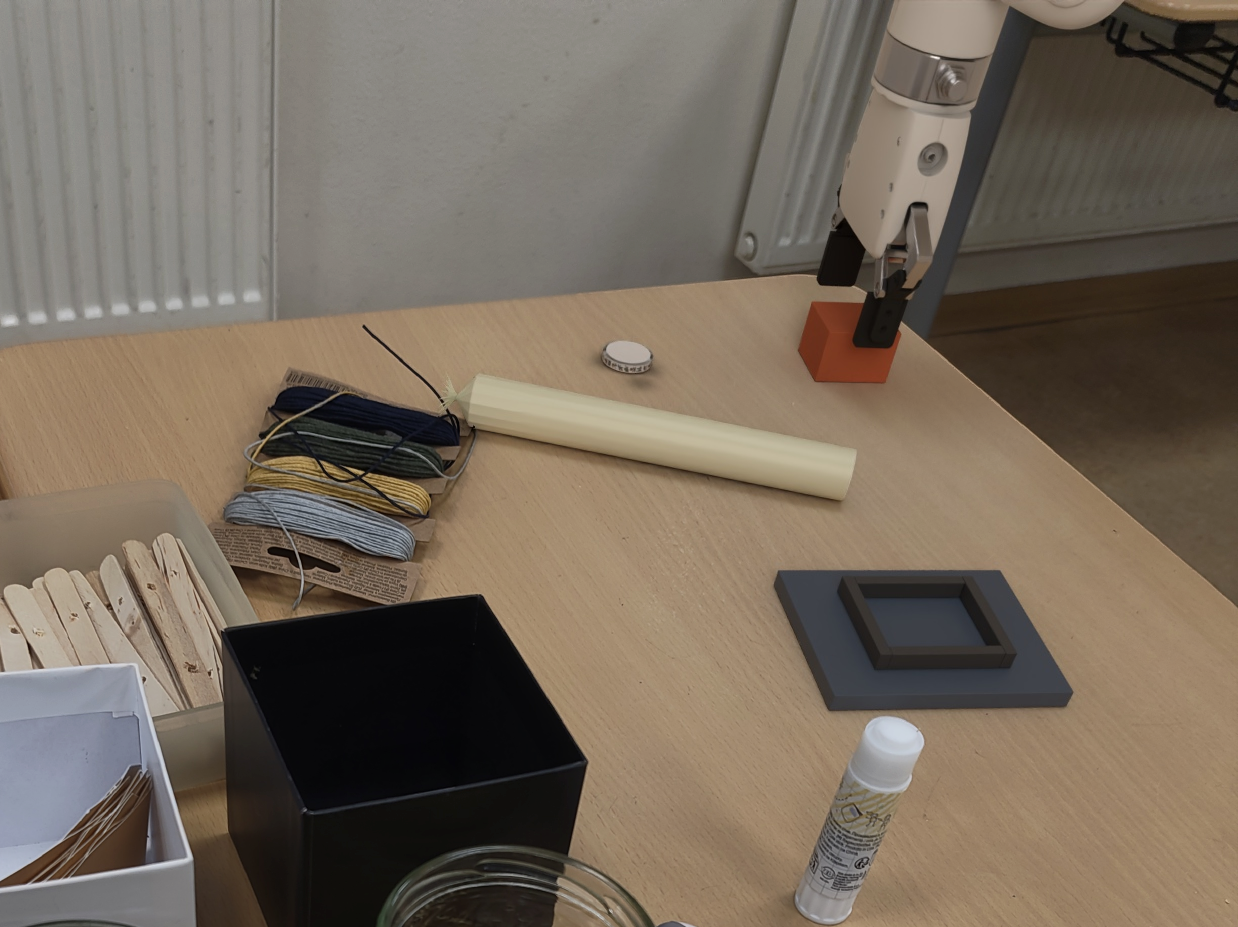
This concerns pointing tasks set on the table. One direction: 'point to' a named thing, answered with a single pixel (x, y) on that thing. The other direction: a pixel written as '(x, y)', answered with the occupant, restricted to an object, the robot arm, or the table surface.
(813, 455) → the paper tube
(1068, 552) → the table surface
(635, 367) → the white flat disc
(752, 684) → the table surface
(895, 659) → the board
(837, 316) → the orange block
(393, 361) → the table surface
